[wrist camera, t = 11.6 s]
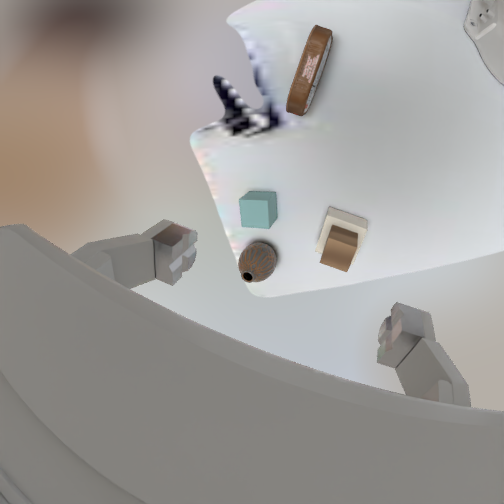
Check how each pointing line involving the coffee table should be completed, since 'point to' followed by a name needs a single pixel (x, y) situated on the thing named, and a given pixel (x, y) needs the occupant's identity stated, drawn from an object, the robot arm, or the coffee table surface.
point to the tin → (309, 70)
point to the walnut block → (339, 248)
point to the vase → (257, 262)
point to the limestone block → (344, 222)
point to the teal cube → (258, 209)
